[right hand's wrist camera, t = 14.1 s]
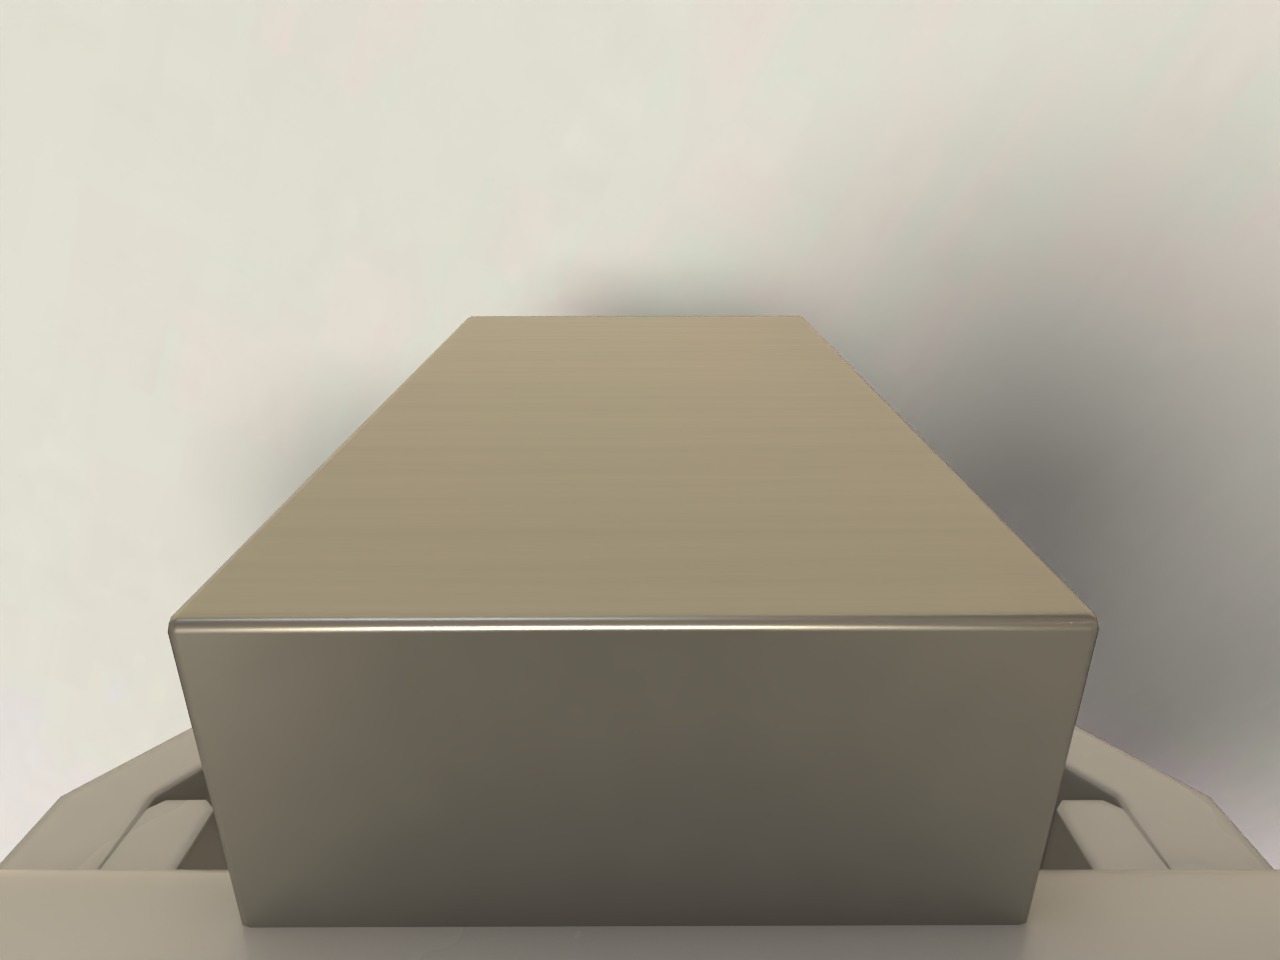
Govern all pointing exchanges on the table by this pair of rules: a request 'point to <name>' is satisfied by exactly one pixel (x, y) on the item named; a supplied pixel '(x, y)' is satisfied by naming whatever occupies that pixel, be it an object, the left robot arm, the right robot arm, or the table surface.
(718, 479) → the bar
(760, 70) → the table surface
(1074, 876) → the right robot arm
